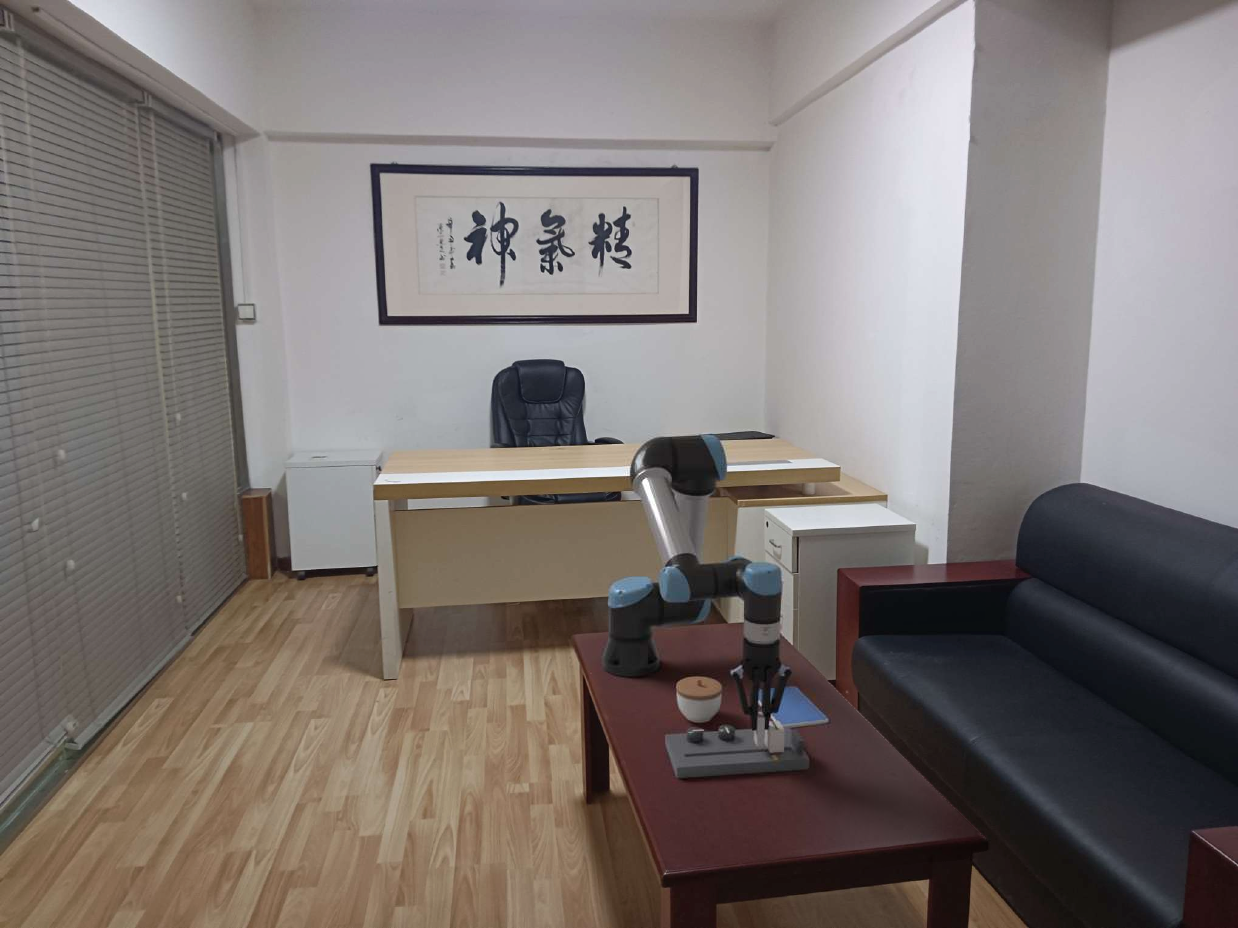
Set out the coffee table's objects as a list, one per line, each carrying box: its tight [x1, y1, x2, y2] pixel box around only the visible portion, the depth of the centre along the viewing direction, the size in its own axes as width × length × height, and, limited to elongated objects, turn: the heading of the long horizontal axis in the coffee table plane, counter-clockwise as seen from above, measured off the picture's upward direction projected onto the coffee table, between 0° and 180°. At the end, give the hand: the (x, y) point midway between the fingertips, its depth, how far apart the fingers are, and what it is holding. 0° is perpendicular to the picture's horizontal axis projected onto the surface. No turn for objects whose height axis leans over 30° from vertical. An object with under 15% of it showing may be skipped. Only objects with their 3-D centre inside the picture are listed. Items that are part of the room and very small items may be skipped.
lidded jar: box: [675, 676, 723, 724], centre depth 209 cm, size 11×11×9 cm
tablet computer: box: [758, 685, 829, 729], centre depth 214 cm, size 19×13×1 cm, turn 13°
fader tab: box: [765, 720, 785, 753], centre depth 189 cm, size 4×3×5 cm
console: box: [664, 724, 810, 779], centre depth 191 cm, size 14×28×5 cm, turn 97°
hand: (758, 743), depth 189 cm, fingers closed
